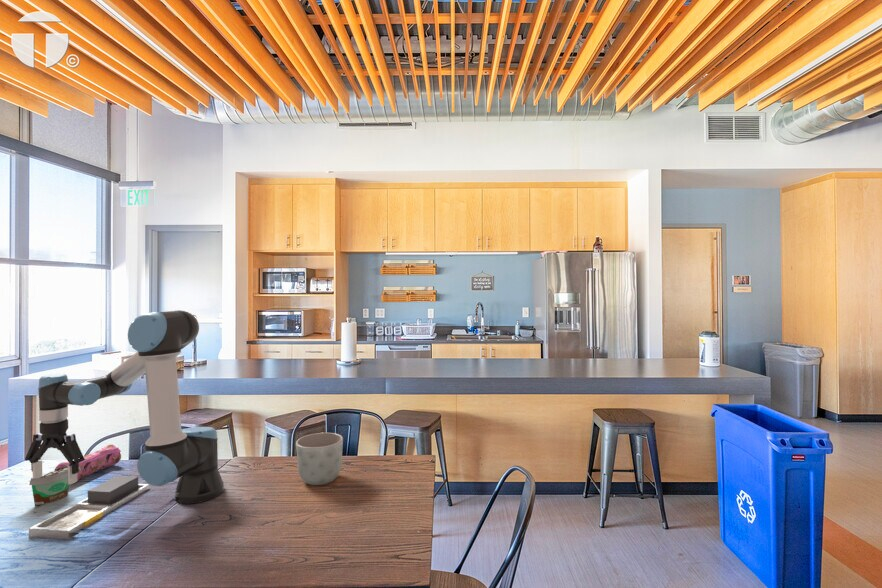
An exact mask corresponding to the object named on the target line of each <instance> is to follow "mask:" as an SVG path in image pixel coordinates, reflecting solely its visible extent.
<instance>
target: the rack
mask: <svg viewBox="0 0 882 588" xmlns="http://www.w3.org/2000/svg"><path fill="white" fill-rule="evenodd" d="M149 489H150V484H148V483H138V489H137V490H136V491H134V492H132V493H130V494H129V495H127V496H125V497H123V498H122V499H120V500H118V501H116V502H115V503H113V504H96V503H88V497H86V498H85V499H83V500H80V501H79V502H77V503H75V504H73V505H71V506H69V507H67V508H65V509H63V510H61V511H60V512H58V513H56V514H54V515H52V516H50V517H47V518H45V519H44V520H42V521H40V522H38V523H36V524H35V525H33V526H31V527H29V528H28V536H29V538H38V539H39V538H41V539H42V538H43V539H54V540H55V539H57V540H71V539H72V538H73V537H75V536H77V535H79V534H80V532H78V531H80V530H81V529H84V528H86V527H88V526H90V525H91V524H93V523H95V522H96V521H97V522H98V520H100V519H103V516H106V515H107V514H109V513H111V512H112V511H114V510H116V509H117V508H119V507H120V506H122V505H124V504H125V503H128V502H129V501H131V500H132V499H134V498H136V497H137V496H140V495H141V494H142V493H144V492H146V491H147V490H149Z"/></svg>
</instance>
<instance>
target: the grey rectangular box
mask: <svg viewBox="0 0 882 588" xmlns="http://www.w3.org/2000/svg"><path fill="white" fill-rule="evenodd" d="M138 484H139V476H131V475H117V476H115V477H112V478H110V479H108V480H106V481H103V482H102V483H100V484H98V485H96V486H94V487H93V488H91V489H88V490H87V498H88V503H96V504H113V503H115V502H116V501H118V500H120V499H122V498H123V497H125V496H127V495H129V494H130V493H132V492H134V491H136V490H137V489H138Z"/></svg>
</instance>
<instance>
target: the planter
mask: <svg viewBox="0 0 882 588" xmlns="http://www.w3.org/2000/svg"><path fill="white" fill-rule="evenodd" d="M343 442H344V437H343V436H342V435H341V434H339V433H335V432H316V433H311V434H307V435H304V436H302V437H299V438H298V439H297V440H296V441H295V448H296V449H295V450H296V458H297V459H296V460H297V470H298V475H299V476H300V479H301V480H302V481H303V482H304V483H305V484H307V485H309V486H310V485H311V486H323V485H327V484H330V483H331V482H333V481H334V480H335V479H337V478H338V476H339V475H340V472H341V470H342V469H341V468H342V465H343V464H342V463H343V462H342V461H343V445H344V443H343Z"/></svg>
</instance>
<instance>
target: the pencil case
mask: <svg viewBox="0 0 882 588" xmlns="http://www.w3.org/2000/svg"><path fill="white" fill-rule="evenodd" d="M121 452H122V451H121V449H120V448H119V447H117V446H116V445H114V444H108V445H106V446H104V447H102V448H101V449H99V450H97V451H94V452H90V453H89V454H86V455H83V457H84V461H82V462H80V463H79V472H78V473H77V480H78V481H79V480H81V479H84V478H86V477H88V476H89V475H92V474H94V473H95V472H98V471H100V470H104V469H106V468H109V467H111V466H115V465H117V464H118V463H119V462H120V461H121V459H122V454H121ZM65 465H67V466H68V465H70V463H69V462H68V461H64V462H60V463H58V464H57V465H56V466H55V468H54V470H53V472H54V471H58V470H60V469H62V468H64V467H65Z"/></svg>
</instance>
